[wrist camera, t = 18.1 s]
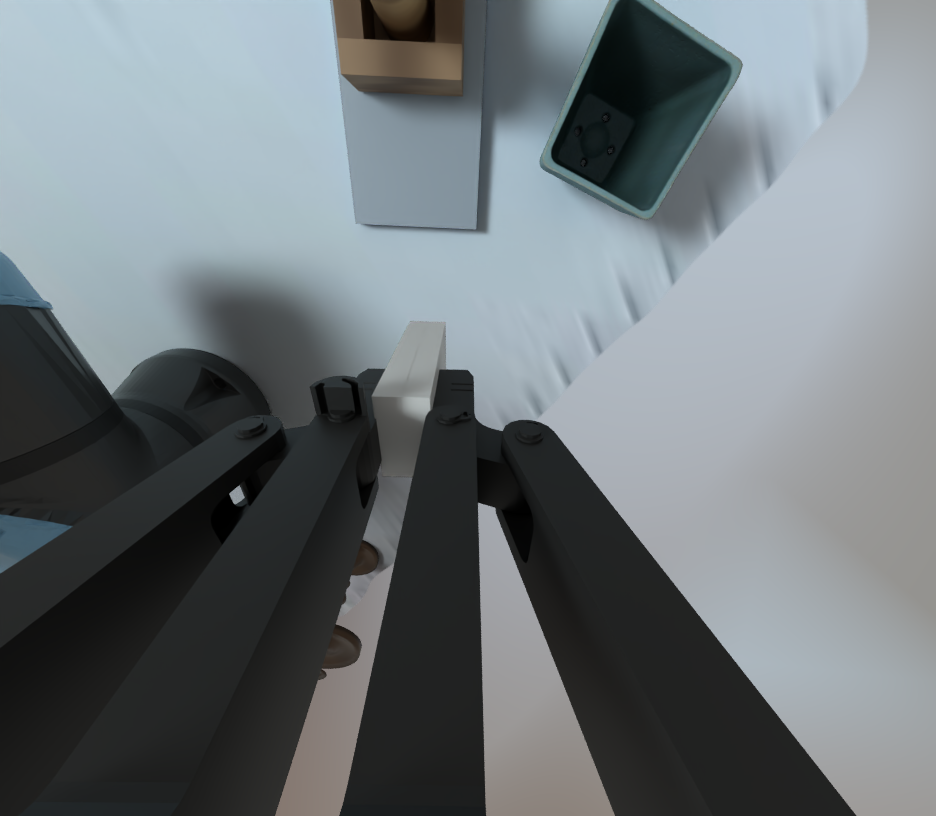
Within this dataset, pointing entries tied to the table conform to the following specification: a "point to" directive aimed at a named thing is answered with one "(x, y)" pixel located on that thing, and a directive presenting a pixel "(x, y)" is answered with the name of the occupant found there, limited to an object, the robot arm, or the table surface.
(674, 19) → the flower pot
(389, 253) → the table surface
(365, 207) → the board
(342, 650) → the candlestick
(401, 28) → the dowel
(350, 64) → the block
